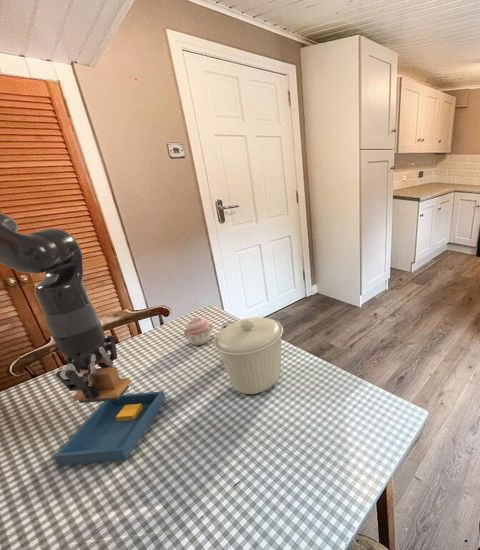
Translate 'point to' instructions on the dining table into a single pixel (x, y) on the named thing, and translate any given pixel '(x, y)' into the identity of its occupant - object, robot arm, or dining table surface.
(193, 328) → the cupcake
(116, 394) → the brown wooden stepped block
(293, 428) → the dining table surface
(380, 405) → the dining table surface
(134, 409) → the yellow square block
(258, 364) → the canister
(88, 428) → the tray
